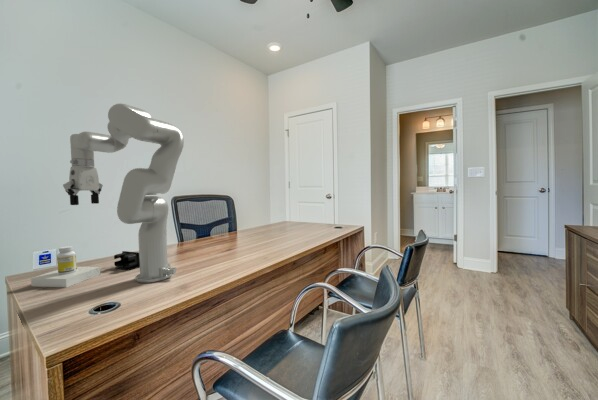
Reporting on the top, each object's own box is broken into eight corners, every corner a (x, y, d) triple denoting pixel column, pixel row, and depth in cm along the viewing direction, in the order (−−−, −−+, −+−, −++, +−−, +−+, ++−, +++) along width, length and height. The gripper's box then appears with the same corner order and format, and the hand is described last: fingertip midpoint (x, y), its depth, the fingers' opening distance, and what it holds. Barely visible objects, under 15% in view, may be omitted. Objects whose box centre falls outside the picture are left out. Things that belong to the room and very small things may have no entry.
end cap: (145, 266, 119) (144, 251, 118) (130, 270, 112) (129, 255, 112) (129, 264, 122) (128, 249, 122) (113, 268, 116) (113, 253, 115)
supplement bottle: (66, 270, 104) (64, 245, 103) (80, 269, 104) (79, 245, 104) (54, 274, 98) (52, 248, 98) (69, 274, 99) (67, 248, 98)
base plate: (100, 274, 108) (99, 267, 108) (66, 287, 94) (66, 279, 94) (69, 273, 109) (68, 266, 109) (31, 286, 95) (31, 278, 95)
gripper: (71, 162, 104) (74, 205, 105) (107, 165, 121) (109, 202, 122) (54, 162, 104) (57, 205, 105) (92, 165, 122) (94, 203, 122)
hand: (85, 204), depth 113 cm, fingers open, 9 cm apart
